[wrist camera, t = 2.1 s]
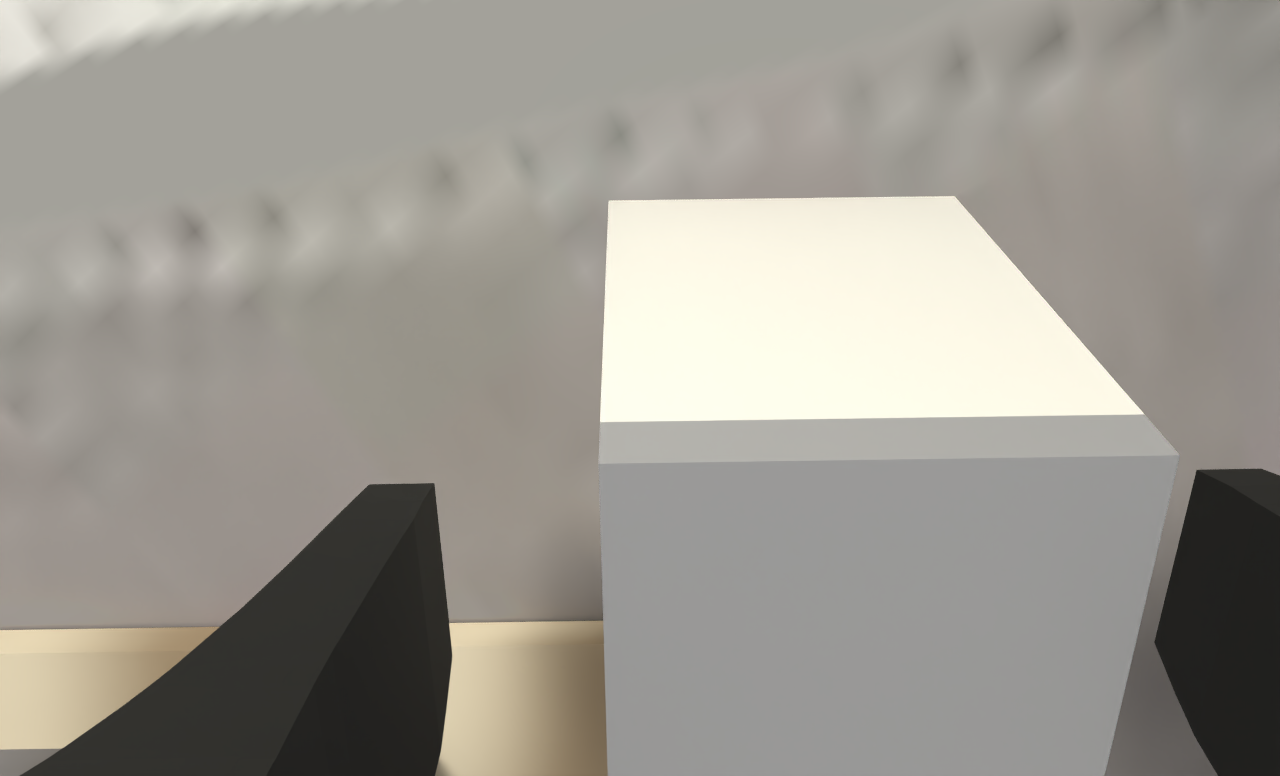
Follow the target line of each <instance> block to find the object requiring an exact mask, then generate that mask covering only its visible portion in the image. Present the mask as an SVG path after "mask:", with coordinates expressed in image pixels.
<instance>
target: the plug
mask: <svg viewBox="0 0 1280 776" xmlns="http://www.w3.org/2000/svg"><path fill="white" fill-rule="evenodd" d="M1179 457H1180V455H1179V454H1178V453H1177V451H1176V450H1175V449H1174V448H1173V447H1172V446H1171V444H1170V443H1169V442H1168V441H1167V440H1166V439H1165V438H1164V436H1163V435H1162V434H1161V433H1160V432H1159V431H1158V430H1157V428H1156V427H1155V426H1154V425H1153V424H1152V423H1151V422H1150V420H1149V419H1148V418H1147V417H1146V416H1145V415H1144V413H1143V412H1142V411H1141V410H1140V409H1139V408H1138V407H1137V405H1136V404H1135V403H1134V402H1133V401H1132V400H1131V399H1130V397H1129V396H1128V395H1127V394H1126V393H1125V392H1124V390H1123V389H1122V388H1121V387H1120V386H1119V385H1118V384H1117V382H1116V381H1115V380H1114V379H1113V378H1112V377H1111V376H1110V374H1109V373H1108V372H1107V371H1106V370H1105V369H1104V367H1103V366H1102V365H1101V364H1100V363H1099V362H1098V361H1097V359H1096V358H1095V357H1094V356H1093V355H1092V354H1091V353H1090V351H1089V350H1088V349H1087V348H1086V347H1085V346H1084V345H1083V343H1082V342H1081V341H1080V340H1079V339H1078V338H1077V336H1076V335H1075V334H1074V333H1073V332H1072V331H1071V330H1070V328H1069V327H1068V326H1067V325H1066V324H1065V323H1064V322H1063V320H1062V319H1061V318H1060V317H1059V316H1058V315H1057V313H1056V312H1055V311H1054V310H1053V309H1052V308H1051V307H1050V305H1049V304H1048V303H1047V302H1046V301H1045V300H1044V299H1043V297H1042V296H1041V295H1040V294H1039V293H1038V292H1037V290H1036V289H1035V288H1034V287H1033V286H1032V285H1031V284H1030V282H1029V281H1028V280H1027V279H1026V278H1025V277H1024V276H1023V274H1022V273H1021V272H1020V271H1019V270H1018V269H1017V268H1016V266H1015V265H1014V264H1013V263H1012V262H1011V261H1010V259H1009V258H1008V257H1007V256H1006V255H1005V254H1004V253H1003V251H1002V250H1001V249H1000V248H999V247H998V246H997V245H996V243H995V242H994V241H993V240H992V239H991V238H990V236H989V235H988V234H987V233H986V232H985V231H984V230H983V228H982V227H981V226H980V225H979V224H978V223H977V222H976V220H975V219H974V218H973V217H972V216H971V215H970V213H969V212H968V211H967V210H966V209H965V208H964V207H963V205H962V204H961V203H960V202H959V201H958V200H957V199H956V197H955V196H936V197H858V198H780V199H702V200H624V201H609V206H608V232H607V258H606V284H605V310H604V336H603V362H602V389H601V415H600V441H599V494H600V528H601V562H602V596H603V630H604V664H605V698H606V732H607V766H608V776H1105V772H1106V768H1107V763H1108V759H1109V755H1110V751H1111V746H1112V742H1113V738H1114V734H1115V729H1116V725H1117V721H1118V717H1119V712H1120V708H1121V704H1122V700H1123V695H1124V691H1125V687H1126V683H1127V678H1128V674H1129V670H1130V666H1131V661H1132V657H1133V653H1134V649H1135V644H1136V640H1137V636H1138V632H1139V627H1140V623H1141V619H1142V615H1143V610H1144V606H1145V602H1146V598H1147V593H1148V589H1149V585H1150V581H1151V576H1152V572H1153V568H1154V564H1155V559H1156V555H1157V551H1158V547H1159V542H1160V538H1161V534H1162V530H1163V525H1164V521H1165V517H1166V513H1167V508H1168V504H1169V500H1170V496H1171V491H1172V487H1173V483H1174V479H1175V474H1176V470H1177V466H1178V462H1179Z"/></svg>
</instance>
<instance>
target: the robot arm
mask: <svg viewBox="0 0 1280 776" xmlns="http://www.w3.org/2000/svg"><path fill="white" fill-rule="evenodd" d="M1155 645H1156V647H1157V649H1158V652H1159V654H1160V657H1161V659H1162V662H1163V664H1164V667H1165V669H1166V672H1167V674H1168V677H1169V679H1170V681H1171V684H1172V686H1173V689H1174V691H1175V694H1176V696H1177V698H1178V700H1179V703H1180V705H1181V707H1182V709H1183V711H1184V714H1185V716H1186V718H1187V720H1188V722H1189V725H1190V727H1191V729H1192V731H1193V733H1194V736H1195V737H1196V739H1197V741H1198V742H1199V744H1200V746H1201V748H1202V749H1203V751H1204V753H1205V754H1206V756H1207V758H1208V760H1209V761H1210V763H1211V765H1212V766H1213V768H1214V770H1215V771H1216V773H1217V775H1218V776H1280V476H1279V475H1276V474H1274V473H1271V472H1268V471H1266V470H1263V469H1220V470H1197V471H1196V475H1195V479H1194V483H1193V488H1192V492H1191V496H1190V500H1189V504H1188V508H1187V512H1186V516H1185V520H1184V524H1183V528H1182V532H1181V536H1180V540H1179V544H1178V549H1177V553H1176V557H1175V561H1174V565H1173V569H1172V573H1171V577H1170V581H1169V585H1168V589H1167V593H1166V597H1165V601H1164V606H1163V610H1162V614H1161V618H1160V622H1159V626H1158V630H1157V634H1156V638H1155ZM451 665H452V646H451V637H450V628H449V618H448V609H447V599H446V590H445V580H444V571H443V562H442V552H441V543H440V533H439V524H438V514H437V505H436V496H435V486H434V483H428V484H372V485H368V486H367V487H366V488H365V489H364V490H363V491H362V492H361V493H360V494H359V495H358V496H357V497H356V498H355V499H354V500H353V501H352V502H351V503H350V504H349V505H348V506H347V507H346V508H344V509H343V510H342V511H341V512H340V513H339V514H338V515H337V516H336V517H335V518H334V519H333V520H332V521H331V522H330V523H329V524H328V525H327V526H326V527H325V528H324V529H323V530H322V531H321V532H320V533H319V534H318V535H317V536H316V537H315V538H314V539H313V540H312V541H311V542H310V543H309V544H308V545H307V546H306V547H305V548H304V549H303V550H302V551H301V552H300V553H299V554H298V555H297V556H296V557H295V558H294V559H293V560H292V561H291V562H290V563H289V564H288V565H287V566H286V567H285V568H284V569H283V570H282V571H281V572H280V573H279V574H277V575H276V576H275V577H274V578H273V579H272V580H271V581H270V582H269V583H268V584H267V585H266V586H265V587H264V588H263V589H262V590H261V591H259V592H258V593H257V594H256V595H255V596H254V597H253V598H252V599H251V600H250V601H249V602H248V603H247V604H246V605H245V606H244V607H243V608H241V609H240V610H239V611H238V612H237V613H236V614H234V615H233V616H232V617H231V618H230V619H229V620H227V621H226V622H225V623H224V624H223V625H221V626H220V627H219V628H218V629H217V630H216V631H214V632H213V633H212V634H211V635H210V636H209V637H207V638H206V639H205V640H204V641H203V642H202V643H200V644H199V645H198V646H197V647H196V648H195V649H193V650H192V651H191V652H190V653H189V654H188V655H186V656H185V657H184V658H183V659H182V660H181V661H179V662H178V663H177V664H176V665H175V666H173V667H172V668H171V669H170V670H169V671H167V672H166V673H165V674H164V675H162V676H161V677H160V678H159V679H157V680H156V681H155V682H153V683H152V684H151V685H150V686H148V687H147V688H146V689H144V690H143V691H142V692H140V693H139V694H138V695H136V696H135V697H134V698H132V699H131V700H130V701H128V702H127V703H126V704H124V705H123V706H122V707H120V708H119V709H118V710H116V711H115V712H113V713H112V714H111V715H109V716H108V717H106V718H105V719H103V720H102V721H101V722H99V723H98V724H96V725H95V726H94V727H92V728H91V729H89V730H88V731H86V732H85V733H84V734H82V735H81V736H79V737H78V738H77V739H75V740H74V741H72V742H71V743H69V744H68V745H67V746H65V747H64V748H62V749H61V750H59V751H58V752H56V753H55V754H53V755H52V756H50V757H49V758H47V759H46V760H44V761H43V762H41V763H39V764H38V765H36V766H34V767H33V768H31V769H30V770H28V771H26V772H25V773H23V774H21V775H20V776H435V774H436V770H437V765H438V761H439V757H440V753H441V747H442V739H443V732H444V724H445V716H446V708H447V700H448V691H449V682H450V673H451Z"/></svg>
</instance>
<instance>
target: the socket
mask: <svg viewBox="0 0 1280 776" xmlns="http://www.w3.org/2000/svg"><path fill="white" fill-rule="evenodd" d="M218 628H219V627H177V628H114V629H51V630H0V776H20V775H21V774H23V773H25V772H26V771H28V770H30V769H31V768H33V767H34V766H36V765H38V764H39V763H41V762H43V761H44V760H46V759H47V758H49V757H50V756H52V755H53V754H55V753H56V752H58V751H59V750H61V749H62V748H64V747H65V746H67V745H68V744H69V743H71V742H72V741H74V740H75V739H77V738H78V737H79V736H81V735H82V734H84V733H85V732H86V731H88V730H89V729H91V728H92V727H94V726H95V725H96V724H98V723H99V722H101V721H102V720H103V719H105V718H106V717H108V716H109V715H111V714H112V713H113V712H115V711H116V710H118V709H119V708H120V707H122V706H123V705H124V704H126V703H127V702H128V701H130V700H131V699H132V698H134V697H135V696H136V695H138V694H139V693H140V692H142V691H143V690H144V689H146V688H147V687H148V686H150V685H151V684H152V683H153V682H155V681H156V680H157V679H159V678H160V677H161V676H162V675H164V674H165V673H166V672H167V671H169V670H170V669H171V668H172V667H173V666H175V665H176V664H177V663H178V662H179V661H181V660H182V659H183V658H184V657H185V656H186V655H188V654H189V653H190V652H191V651H192V650H193V649H195V648H196V647H197V646H198V645H199V644H200V643H202V642H203V641H204V640H205V639H206V638H207V637H209V636H210V635H211V634H212V633H213V632H214V631H216V630H217V629H218ZM449 628H450V637H451V646H452V665H451V673H450V682H449V691H448V700H447V708H446V716H445V724H444V732H443V739H442V747H441V753H440V757H439V761H438V765H437V770H436V774H435V776H608V766H607V732H606V698H605V664H604V630H603V621H555V622H492V623H449Z"/></svg>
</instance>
